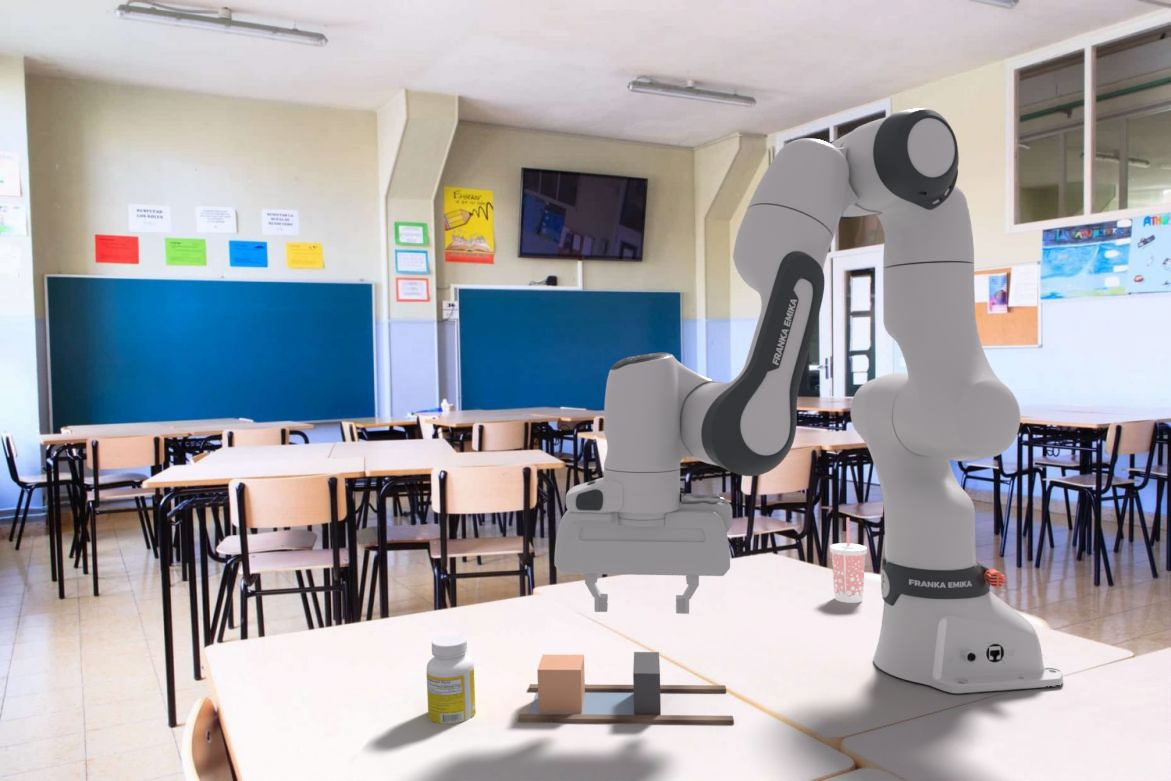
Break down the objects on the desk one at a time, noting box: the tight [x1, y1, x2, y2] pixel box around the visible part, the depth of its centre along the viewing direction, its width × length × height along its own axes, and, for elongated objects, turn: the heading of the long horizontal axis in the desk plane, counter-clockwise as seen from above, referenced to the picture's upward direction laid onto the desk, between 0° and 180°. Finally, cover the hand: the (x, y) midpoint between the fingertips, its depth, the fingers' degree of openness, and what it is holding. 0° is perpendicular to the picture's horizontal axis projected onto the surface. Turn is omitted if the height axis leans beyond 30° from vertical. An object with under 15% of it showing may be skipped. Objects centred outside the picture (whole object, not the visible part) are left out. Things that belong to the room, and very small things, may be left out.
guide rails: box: [517, 683, 735, 725], centre depth 98 cm, size 24×10×2 cm, turn 86°
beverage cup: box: [829, 517, 868, 604], centre depth 143 cm, size 6×6×14 cm
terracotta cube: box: [537, 654, 586, 713], centre depth 99 cm, size 5×5×5 cm
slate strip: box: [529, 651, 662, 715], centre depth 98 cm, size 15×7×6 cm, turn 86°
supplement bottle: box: [426, 634, 476, 725], centre depth 97 cm, size 5×5×10 cm
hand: (641, 611), depth 98 cm, fingers open, 8 cm apart
